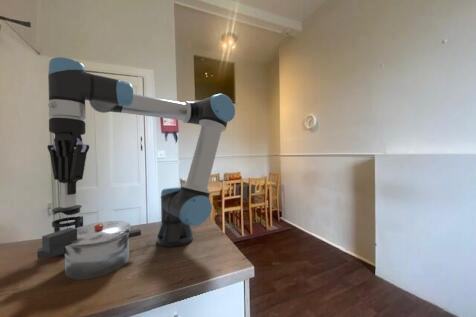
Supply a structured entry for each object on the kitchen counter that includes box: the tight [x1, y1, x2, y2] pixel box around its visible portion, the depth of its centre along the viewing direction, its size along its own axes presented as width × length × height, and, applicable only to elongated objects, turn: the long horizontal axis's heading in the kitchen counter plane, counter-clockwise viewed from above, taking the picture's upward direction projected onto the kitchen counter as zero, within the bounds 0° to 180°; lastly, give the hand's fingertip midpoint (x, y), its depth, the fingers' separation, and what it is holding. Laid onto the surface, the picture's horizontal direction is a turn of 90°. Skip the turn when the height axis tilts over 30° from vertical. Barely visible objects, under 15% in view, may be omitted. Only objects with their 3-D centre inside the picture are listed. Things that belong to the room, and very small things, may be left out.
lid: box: [41, 220, 131, 252], centre depth 67 cm, size 24×19×5 cm
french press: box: [51, 192, 84, 257], centre depth 80 cm, size 12×9×23 cm
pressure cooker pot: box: [37, 228, 142, 280], centre depth 69 cm, size 28×18×10 cm, turn 127°
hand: (68, 206), depth 55 cm, fingers closed
